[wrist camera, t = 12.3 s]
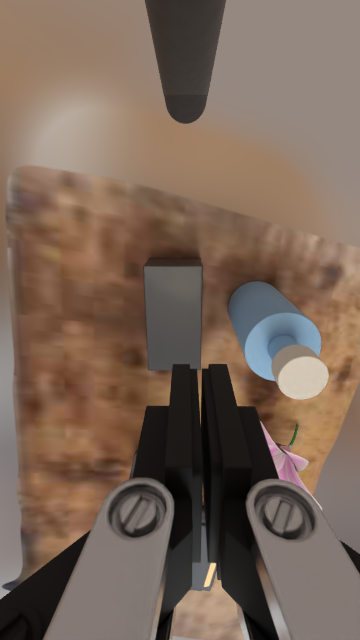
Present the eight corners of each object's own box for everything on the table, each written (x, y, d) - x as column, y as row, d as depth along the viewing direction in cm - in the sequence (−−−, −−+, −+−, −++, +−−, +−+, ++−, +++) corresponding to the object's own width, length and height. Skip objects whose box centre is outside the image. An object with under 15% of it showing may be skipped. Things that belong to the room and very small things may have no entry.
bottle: (261, 275, 39) (406, 310, 26) (255, 323, 41) (386, 377, 29) (171, 289, 32) (311, 346, 19) (171, 346, 34) (295, 431, 21)
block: (148, 258, 36) (143, 266, 31) (200, 257, 35) (202, 265, 31) (152, 351, 40) (148, 370, 35) (198, 351, 40) (200, 370, 35)
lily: (255, 380, 42) (233, 437, 35) (347, 415, 38) (342, 486, 31) (240, 429, 50) (220, 484, 43) (316, 462, 46) (307, 528, 39)
